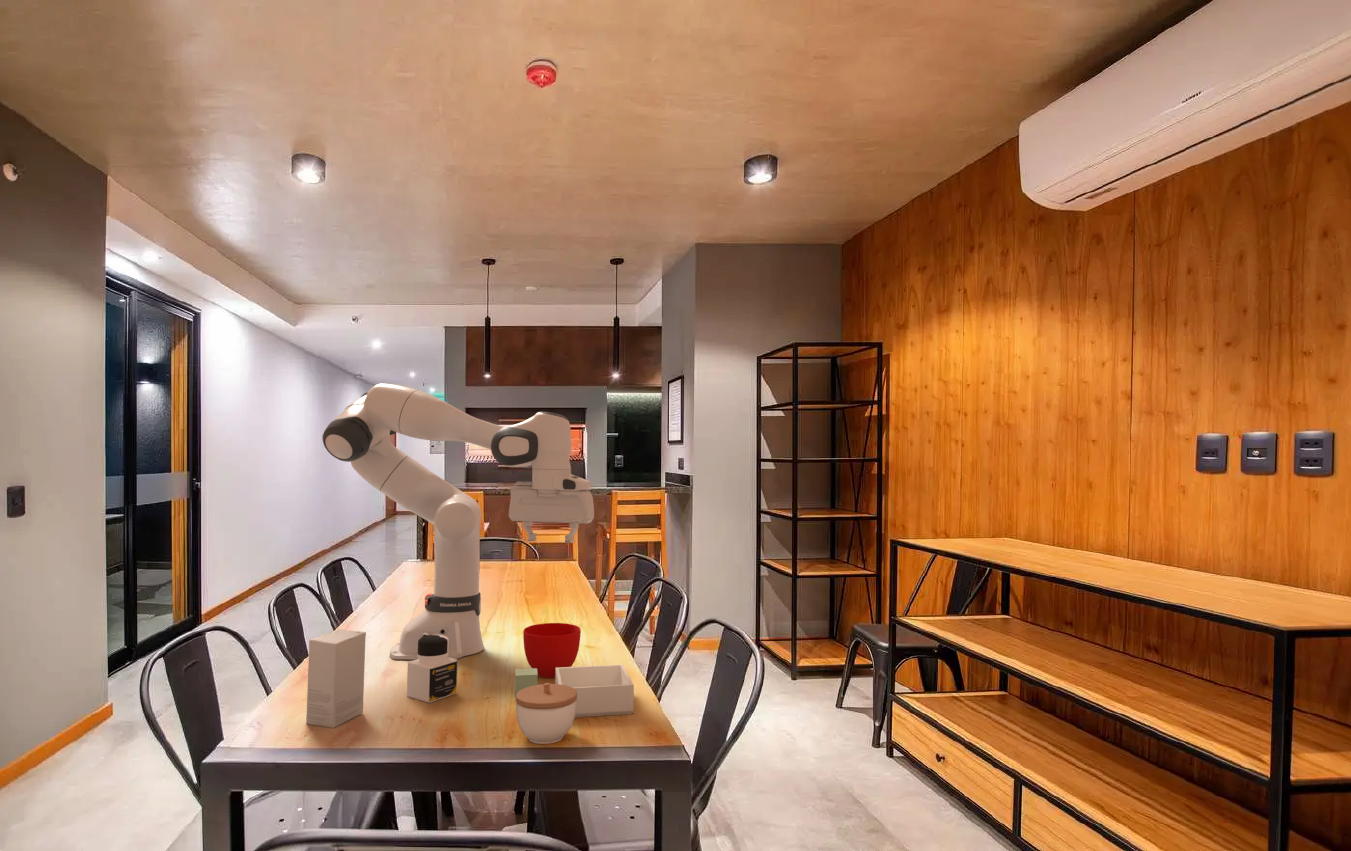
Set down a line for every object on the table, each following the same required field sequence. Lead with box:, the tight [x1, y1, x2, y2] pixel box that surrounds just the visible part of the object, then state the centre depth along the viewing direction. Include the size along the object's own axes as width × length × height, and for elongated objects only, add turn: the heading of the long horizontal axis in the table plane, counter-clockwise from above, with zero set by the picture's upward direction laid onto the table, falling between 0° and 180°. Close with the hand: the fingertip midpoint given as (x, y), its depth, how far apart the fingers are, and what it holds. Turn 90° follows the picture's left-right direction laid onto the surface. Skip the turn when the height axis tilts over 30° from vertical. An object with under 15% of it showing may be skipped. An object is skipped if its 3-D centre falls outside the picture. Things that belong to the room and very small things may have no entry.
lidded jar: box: [515, 682, 577, 745], centre depth 128 cm, size 11×11×9 cm
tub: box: [554, 663, 635, 718], centre depth 146 cm, size 14×14×6 cm
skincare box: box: [305, 629, 367, 729], centre depth 136 cm, size 8×7×16 cm
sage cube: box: [514, 668, 539, 698], centre depth 152 cm, size 4×4×4 cm
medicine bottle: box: [406, 635, 458, 704], centre depth 150 cm, size 7×7×12 cm
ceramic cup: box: [522, 622, 582, 679], centre depth 168 cm, size 13×17×10 cm
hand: (550, 541), depth 168 cm, fingers open, 8 cm apart
